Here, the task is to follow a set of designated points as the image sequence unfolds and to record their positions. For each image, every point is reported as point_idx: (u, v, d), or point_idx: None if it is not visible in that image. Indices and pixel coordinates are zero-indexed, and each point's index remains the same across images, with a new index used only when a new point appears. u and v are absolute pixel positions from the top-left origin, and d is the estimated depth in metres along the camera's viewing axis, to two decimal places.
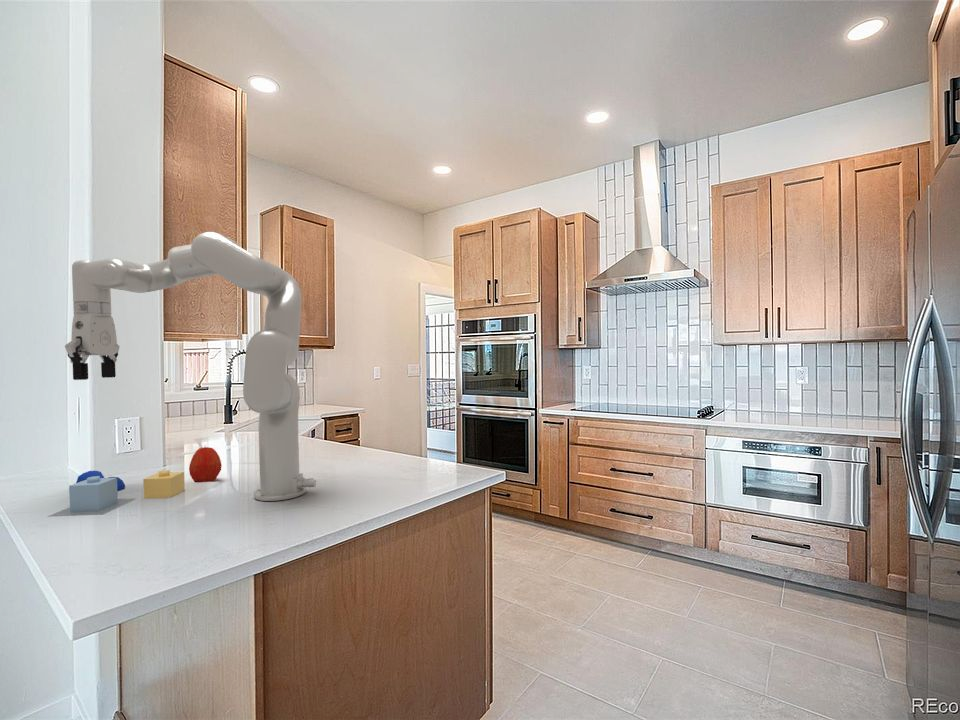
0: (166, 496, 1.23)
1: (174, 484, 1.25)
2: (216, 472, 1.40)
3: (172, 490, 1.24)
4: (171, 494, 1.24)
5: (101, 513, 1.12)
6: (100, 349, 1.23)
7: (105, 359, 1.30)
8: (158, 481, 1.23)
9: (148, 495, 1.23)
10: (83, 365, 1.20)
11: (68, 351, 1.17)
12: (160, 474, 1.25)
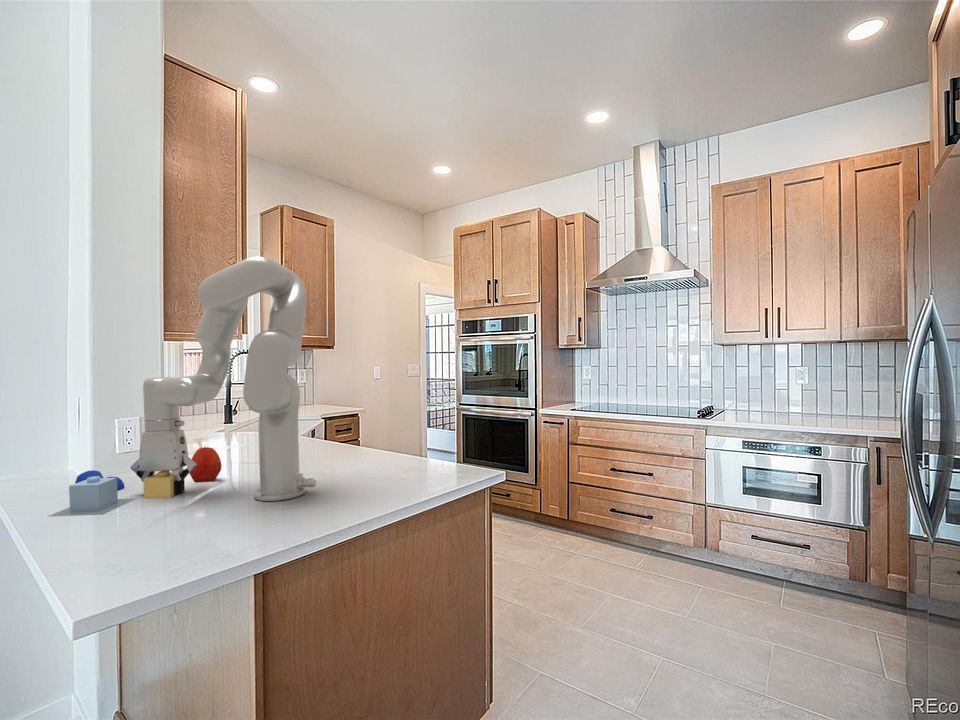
0: (166, 496, 1.23)
1: None
2: (216, 472, 1.40)
3: (172, 490, 1.24)
4: (170, 494, 1.24)
5: (101, 513, 1.12)
6: None
7: None
8: (158, 481, 1.23)
9: (148, 495, 1.23)
10: None
11: (191, 469, 1.26)
12: (160, 474, 1.25)
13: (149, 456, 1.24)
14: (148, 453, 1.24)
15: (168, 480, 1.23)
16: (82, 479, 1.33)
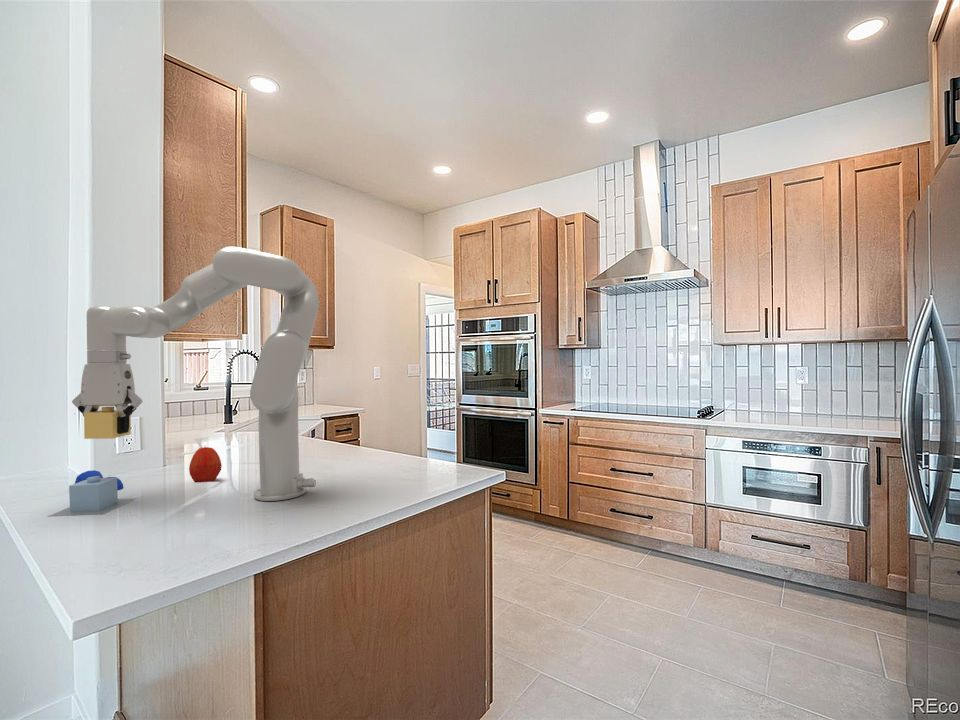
0: (108, 432, 1.16)
1: None
2: (216, 472, 1.40)
3: (115, 426, 1.17)
4: (113, 431, 1.16)
5: (101, 513, 1.12)
6: None
7: None
8: (100, 416, 1.16)
9: (89, 430, 1.16)
10: None
11: (136, 405, 1.19)
12: (103, 409, 1.18)
13: (91, 389, 1.16)
14: (90, 386, 1.16)
15: (110, 415, 1.16)
16: (82, 479, 1.33)
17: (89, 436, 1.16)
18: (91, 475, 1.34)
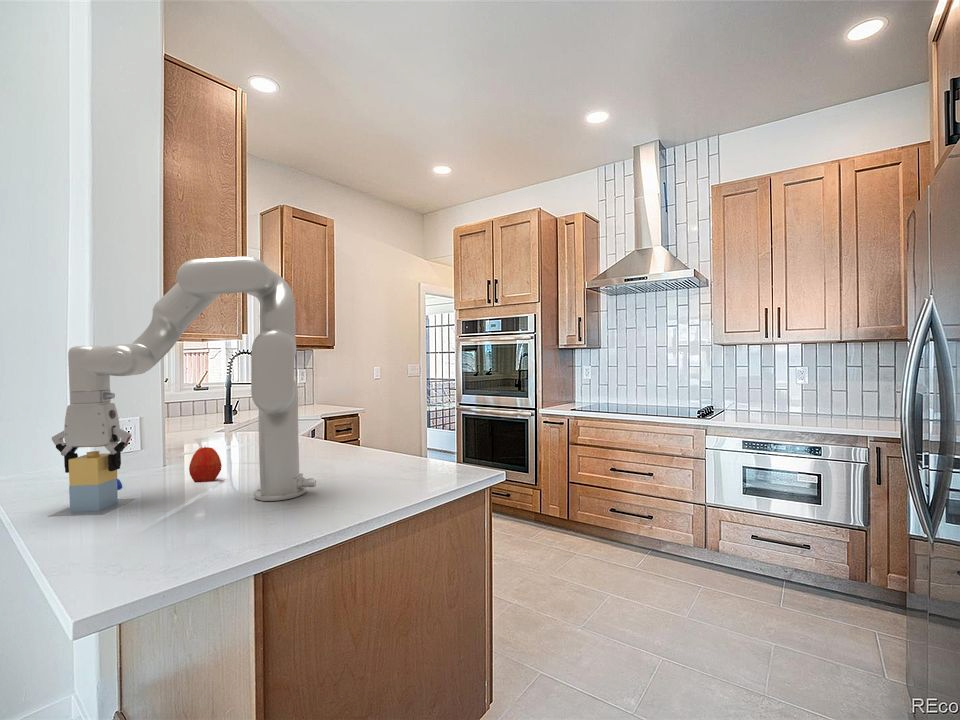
0: (94, 478, 1.14)
1: (103, 465, 1.16)
2: (216, 472, 1.40)
3: (100, 472, 1.15)
4: (98, 477, 1.14)
5: (101, 513, 1.12)
6: None
7: (69, 451, 1.16)
8: (84, 462, 1.13)
9: (74, 477, 1.13)
10: None
11: (127, 440, 1.17)
12: (88, 455, 1.15)
13: (75, 431, 1.14)
14: (74, 427, 1.14)
15: (95, 461, 1.14)
16: None
17: (74, 483, 1.13)
18: None
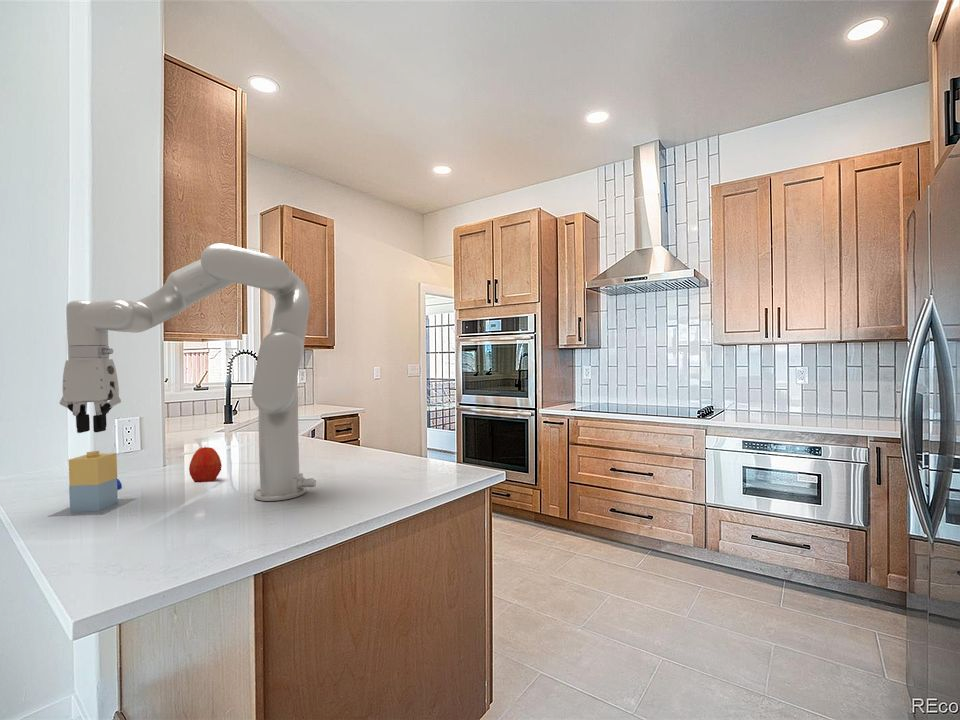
0: (94, 478, 1.14)
1: (103, 465, 1.16)
2: (216, 472, 1.40)
3: (100, 472, 1.15)
4: (98, 477, 1.14)
5: (101, 513, 1.12)
6: None
7: (80, 410, 1.16)
8: (84, 462, 1.13)
9: (74, 477, 1.13)
10: None
11: (113, 405, 1.16)
12: (88, 455, 1.15)
13: (73, 385, 1.14)
14: (72, 382, 1.14)
15: (95, 461, 1.14)
16: None
17: (74, 483, 1.13)
18: None
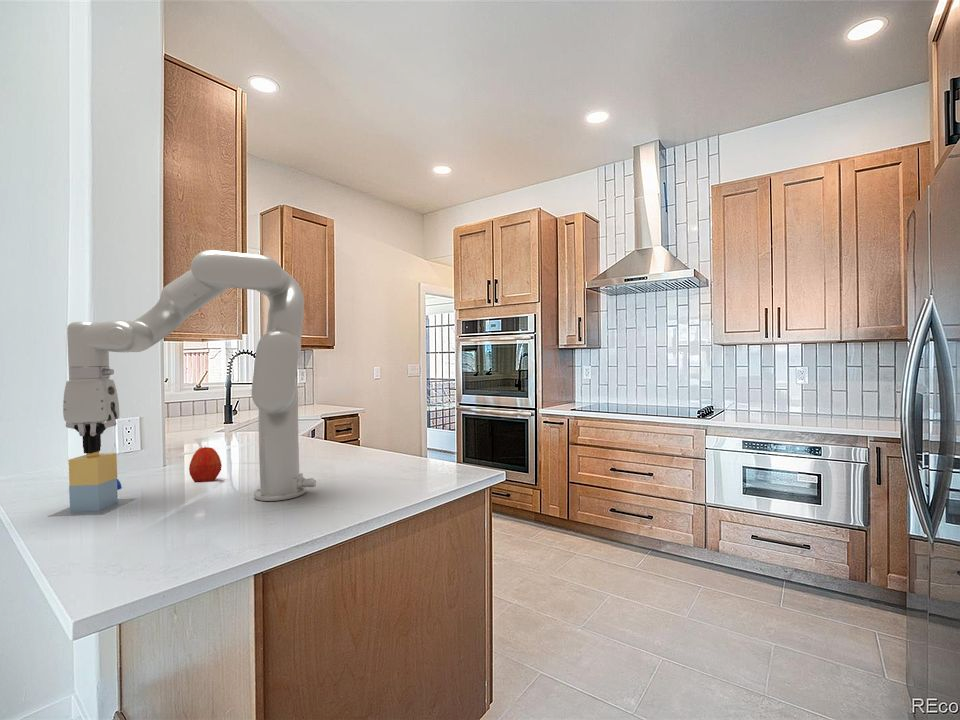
0: (94, 478, 1.14)
1: (103, 465, 1.16)
2: (216, 472, 1.40)
3: (100, 472, 1.15)
4: (98, 476, 1.14)
5: (101, 513, 1.12)
6: None
7: (85, 430, 1.16)
8: (84, 462, 1.13)
9: (74, 477, 1.13)
10: None
11: None
12: (88, 455, 1.15)
13: (74, 406, 1.14)
14: (72, 403, 1.14)
15: (95, 461, 1.14)
16: None
17: (74, 483, 1.13)
18: None
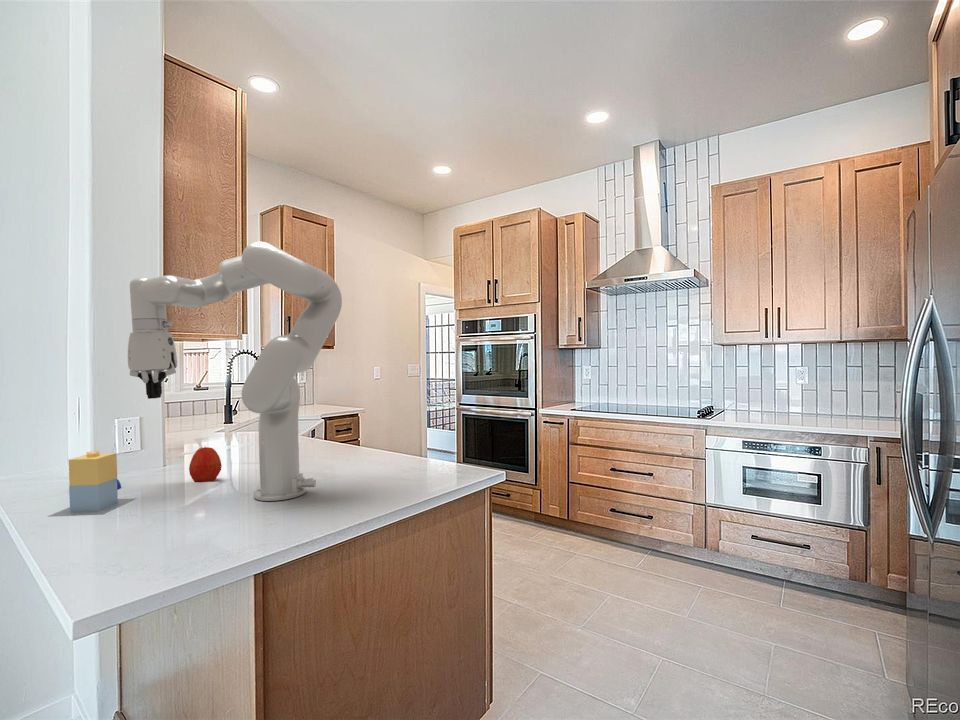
0: (94, 478, 1.14)
1: (103, 465, 1.16)
2: (216, 472, 1.40)
3: (100, 472, 1.15)
4: (98, 477, 1.14)
5: (101, 513, 1.12)
6: None
7: (148, 378, 1.27)
8: (84, 462, 1.13)
9: (74, 477, 1.13)
10: None
11: (168, 374, 1.28)
12: (88, 455, 1.15)
13: (138, 355, 1.25)
14: (137, 352, 1.25)
15: (95, 461, 1.14)
16: None
17: (74, 483, 1.13)
18: None
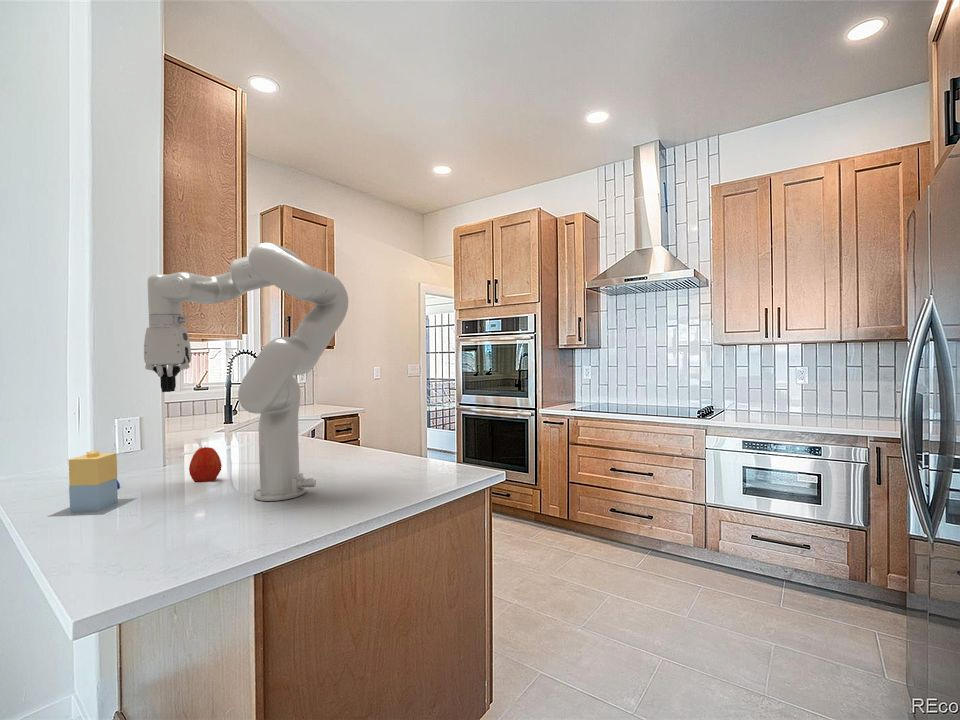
0: (94, 478, 1.14)
1: (103, 465, 1.16)
2: (216, 472, 1.40)
3: (100, 472, 1.15)
4: (98, 477, 1.14)
5: (101, 513, 1.12)
6: None
7: (163, 372, 1.30)
8: (84, 462, 1.13)
9: (74, 477, 1.13)
10: None
11: (182, 369, 1.31)
12: (88, 455, 1.15)
13: (153, 350, 1.28)
14: (152, 347, 1.28)
15: (95, 461, 1.14)
16: None
17: (74, 483, 1.13)
18: None
